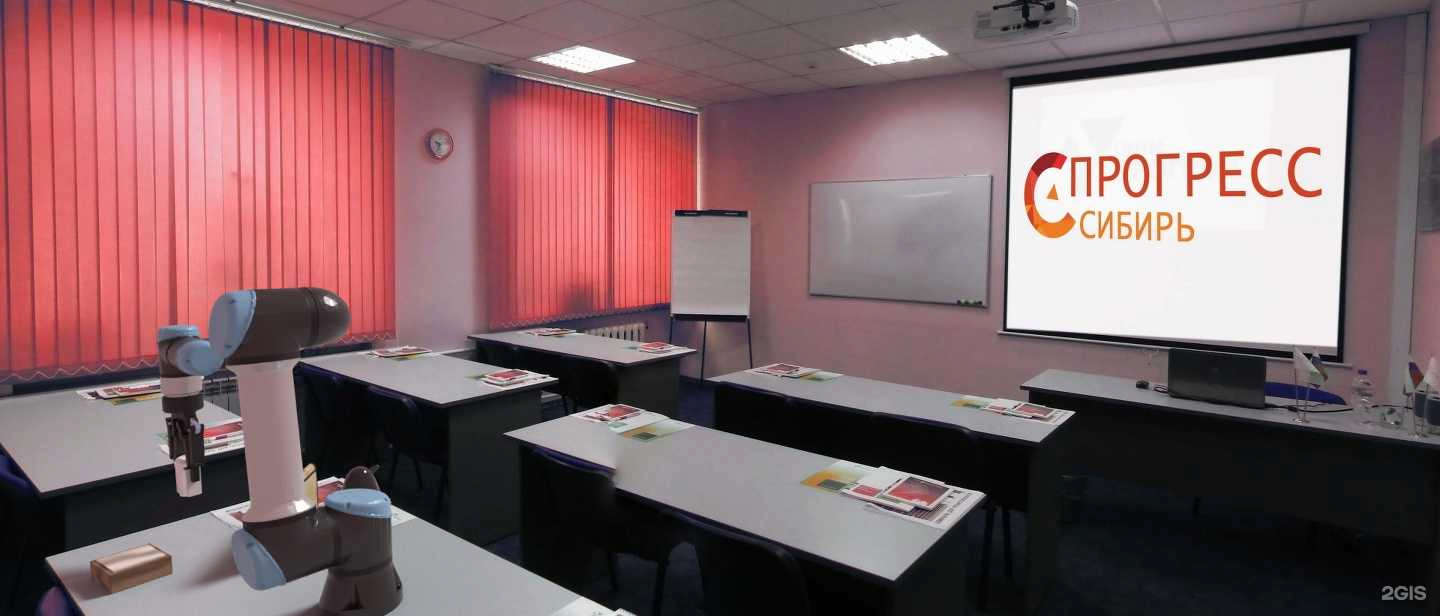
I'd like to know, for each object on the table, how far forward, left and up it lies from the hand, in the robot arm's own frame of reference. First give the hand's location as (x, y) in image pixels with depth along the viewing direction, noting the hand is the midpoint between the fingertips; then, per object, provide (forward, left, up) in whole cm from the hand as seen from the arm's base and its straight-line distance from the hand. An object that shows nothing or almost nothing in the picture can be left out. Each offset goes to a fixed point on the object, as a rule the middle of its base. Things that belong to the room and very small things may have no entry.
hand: (189, 492), depth 162 cm
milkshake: (0, 0, -1) cm, 1 cm away
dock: (-3, +12, -14) cm, 19 cm away
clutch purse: (-12, -14, -14) cm, 24 cm away
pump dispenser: (-18, -30, -14) cm, 38 cm away
